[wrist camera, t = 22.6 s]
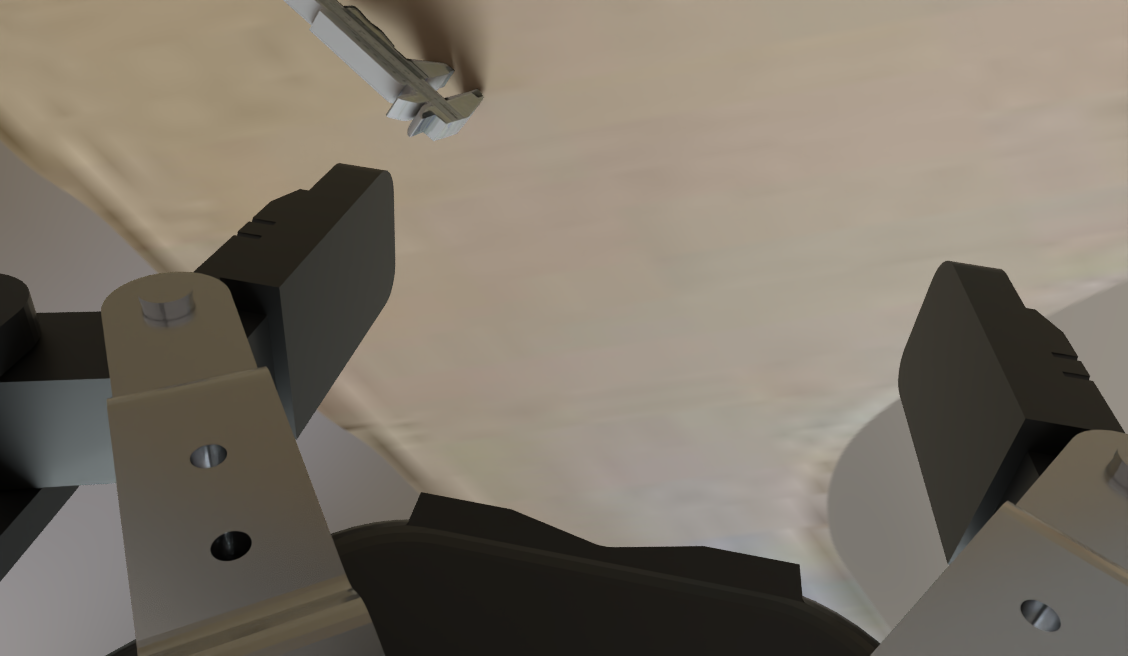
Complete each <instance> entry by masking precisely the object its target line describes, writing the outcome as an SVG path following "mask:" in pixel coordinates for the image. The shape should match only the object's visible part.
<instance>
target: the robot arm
mask: <svg viewBox="0 0 1128 656" xmlns="http://www.w3.org/2000/svg"><path fill="white" fill-rule="evenodd" d="M394 274H395V231H394V189H393V181H392V177H391V174H390V173H389V172H388V171H386V170H379V169H373V168H367V167H360V166H354V165H348V164H341V163H338V164H336V165H335V166H334V167H333V168H332V169H331V170H330V171H329V172H328V173H327V174H326V175H324V176H323V177H322V178H321V179H320V180H319V181H318V182H317V183H316V184H315V185H314V186H313V187H312V188H311V189H310V190H309V191H308V190H302V189H299V190H297V191H294V192H292V193H290V194H287V195H285V196H283V197H280V198H278V199H276V200H273V201H271V202H270V203H269V204H267V205H266V206H265V207H264V208H263V209H262V210H261V211H260V212H259V213H258V214H257V215H255V216H254V217H253V220H252V222H250V221H249V222H248V223H247V224H246V225H244V226H243V227H242V228H241V229H240V230H239V231H238V234H237V236H236V235H234V236H232V237H231V238H230V239H229V240H228V241H227V242H226V243H225V244H224V245H223V246H221V247H220V248H219V249H218V250H217V251H216V252H215V253H214V254H213V255H212V256H211V257H209V258H208V259H207V260H206V261H205V262H204V263H203V264H202V265H201V266H200V267H198V268H197V269H196V270H195V271H194V272H167V273H159V274H154V275H149V276H145V277H142V278H138V279H136V280H133V281H130V282H128V283H126V284H124V285H122V286H120V287H119V288H118V289H116V290H114V291H113V292H112V293H111V294H110V295H109V296H108V297H107V298H106V299H105V301H104V302H103V305H102V307H101V312H65V313H64V312H62V313H61V312H60V313H36V311H35V308H34V305H33V302H32V298H31V295H30V292H29V289H28V287H27V286H26V285H25V284H24V283H23V282H22V281H21V280H19V279H17V278H15V277H12V276H9V275H4V274H0V581H1V580H2V579H3V578H4V576H5V575H6V574H7V573H8V572H9V570H10V569H11V568H12V567H13V566H14V564H15V563H16V562H17V561H18V559H19V558H20V557H21V556H22V555H23V553H24V552H25V551H26V550H27V549H28V547H29V546H30V545H31V544H32V543H33V541H34V540H35V539H36V538H37V537H38V535H39V534H40V533H41V532H42V531H43V529H44V528H45V527H46V526H47V524H48V523H49V522H50V521H51V520H52V519H53V517H54V516H55V515H56V514H57V513H58V511H59V510H60V509H61V508H62V506H63V505H64V504H65V503H66V501H67V500H68V499H69V498H70V497H71V496H72V494H73V493H74V492H75V491H76V489H77V488H78V487H79V485H90V484H91V485H92V484H108V483H116V484H117V492H118V500H119V508H120V516H121V524H122V532H123V539H124V548H125V556H126V564H127V571H128V580H129V588H130V596H131V603H132V611H133V620H134V627H135V636H136V639H135V640H133V641H131V642H129V643H128V644H126V645H124V646H122V647H120V648H119V649H117V650H115V651H113V652H111V653H110V654H108V655H106V656H1128V434H1125V432H1124V430H1123V429H1122V427H1121V426H1120V424H1119V422H1118V421H1117V419H1116V418H1115V416H1114V414H1113V413H1112V411H1111V409H1110V408H1109V406H1108V405H1107V403H1106V401H1105V400H1104V398H1103V396H1102V395H1101V393H1100V391H1099V390H1098V388H1097V387H1096V385H1095V384H1094V382H1093V381H1089V377H1090V375H1089V374H1088V372H1087V370H1086V369H1085V367H1084V366H1083V364H1082V362H1081V361H1077V358H1078V356H1077V354H1076V352H1075V351H1074V349H1073V348H1072V346H1071V344H1070V343H1069V341H1068V339H1067V338H1066V336H1065V335H1064V333H1063V332H1062V331H1061V330H1059V329H1058V328H1057V327H1056V326H1055V325H1053V324H1052V323H1051V322H1050V321H1048V320H1047V319H1046V318H1045V317H1044V316H1042V315H1041V314H1040V313H1039V312H1038V311H1036V310H1035V309H1029V308H1025V306H1024V304H1023V302H1022V301H1021V299H1020V297H1019V295H1018V294H1017V292H1016V290H1015V288H1014V287H1013V285H1012V283H1011V281H1010V280H1009V278H1008V276H1007V274H1006V273H1005V272H1004V271H1003V270H1002V269H996V268H990V267H983V266H977V265H971V264H965V263H958V262H952V261H945V262H943V263H942V264H941V265H940V266H939V268H938V269H937V271H936V273H935V275H934V277H933V279H932V282H931V284H930V287H929V289H928V292H927V294H926V297H925V299H924V302H923V304H922V307H921V309H920V312H919V314H918V317H917V319H916V322H915V324H914V327H913V329H912V332H911V334H910V337H909V339H908V342H907V344H906V347H905V349H904V352H903V355H902V359H901V363H900V368H899V378H898V387H899V394H900V398H901V401H902V405H903V408H904V412H905V415H906V419H907V422H908V425H909V429H910V433H911V436H912V440H913V443H914V447H915V450H916V454H917V457H918V461H919V464H920V468H921V472H922V475H923V479H924V482H925V486H926V489H927V493H928V496H929V500H930V503H931V507H932V510H933V514H934V517H935V521H936V524H937V528H938V531H939V535H940V538H941V542H942V546H943V549H944V552H945V556H946V560H947V563H948V564H949V566H948V567H947V569H946V570H945V571H944V572H943V573H942V574H941V575H940V576H939V578H938V579H937V580H936V581H935V582H934V583H933V584H932V586H931V587H930V588H929V589H928V590H927V591H926V592H925V594H924V595H923V596H922V597H921V598H920V599H919V601H918V602H917V603H916V604H915V605H914V606H913V607H912V609H911V610H910V611H909V612H908V613H907V614H906V615H905V616H904V618H903V619H902V620H901V621H900V622H899V623H898V624H897V626H896V627H895V628H894V629H893V630H892V631H891V632H890V634H889V635H888V636H887V637H886V638H885V639H884V640H883V641H882V643H881V644H880V643H879V642H878V641H877V640H875V639H874V638H873V637H871V636H870V635H869V634H867V633H866V632H865V631H864V630H862V629H861V628H860V627H858V626H857V625H855V624H854V623H852V622H851V621H849V620H848V619H846V618H844V617H843V616H841V615H840V614H838V613H837V612H835V611H833V610H831V609H829V608H827V607H825V606H823V605H821V604H819V603H817V602H816V601H813V600H811V599H809V598H806V597H804V596H802V587H801V576H800V565H799V564H794V563H789V562H784V561H779V560H773V559H768V558H763V557H758V556H752V555H747V554H742V553H737V552H731V551H726V550H721V549H716V548H711V547H705V546H682V547H605V546H600V545H597V544H594V543H591V542H589V541H587V540H584V539H582V538H579V537H577V536H574V535H572V534H570V533H567V532H565V531H562V530H560V529H557V528H555V527H553V526H550V525H548V524H545V523H543V522H541V521H538V520H536V519H533V518H531V517H528V516H526V515H524V514H521V513H519V512H516V511H514V510H512V509H506V508H501V507H496V506H491V505H485V504H480V503H475V502H470V501H465V500H459V499H454V498H449V497H444V496H438V495H433V494H428V493H423V492H421V494H420V496H419V498H418V501H417V503H416V505H415V508H414V510H413V512H412V515H411V517H410V519H409V520H392V521H382V522H374V523H369V524H365V525H360V526H356V527H351V528H348V529H345V530H342V531H339V532H335V533H332V534H330V531H329V528H328V526H327V523H326V520H325V518H324V515H323V512H322V510H321V507H320V504H319V502H318V499H317V496H316V494H315V491H314V488H313V486H312V483H311V480H310V478H309V475H308V472H307V470H306V467H305V464H304V462H303V459H302V456H301V454H300V451H299V448H298V446H297V443H296V440H295V439H297V438H298V437H299V435H300V433H301V432H302V431H303V429H304V428H305V426H306V424H307V423H308V421H309V420H310V419H311V417H312V415H313V414H314V412H315V411H316V409H317V408H318V406H319V405H320V403H321V402H322V400H323V399H324V397H325V396H326V394H327V393H328V391H329V390H330V388H331V387H332V385H333V384H334V382H335V380H336V379H337V377H338V376H339V374H340V373H341V371H342V370H343V368H344V367H345V365H346V364H347V362H348V361H349V359H350V358H351V356H352V355H353V353H354V352H355V350H356V349H357V347H358V345H359V344H360V342H361V341H362V339H363V338H364V336H365V335H366V333H367V332H368V330H369V329H370V327H371V326H372V324H373V323H374V321H375V320H376V318H377V317H378V315H379V314H380V312H381V310H382V309H383V307H384V306H385V304H386V303H387V301H388V298H389V296H390V293H391V289H392V286H393V281H394Z"/></svg>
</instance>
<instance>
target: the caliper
mask: <svg viewBox="0 0 1128 656" xmlns="http://www.w3.org/2000/svg"><path fill="white" fill-rule="evenodd" d="M284 1H285V2H286V3H287V4H288V5H289V6H290V7H291V8H293V9H294V10H295V11H296V12H297V13H298V14H299V15H300V16H301V17H303V18H304V19H305V20H306V21H307V22H308V23H309V24H310V25H311V28H310V29H309V30H310V31H311V32H312V33H313V34H314V35H315V36H317V37H318V38H319V39H320V40H321V41H322V42H323V43H324V44H325V45H326V46H328V47H329V48H330V49H331V50H332V51H333V52H334V53H335V54H336V55H337V56H338V57H340V58H341V59H342V60H343V61H344V62H345V63H346V64H347V65H348V66H349V67H351V68H352V69H353V70H354V71H355V72H356V73H357V74H358V75H359V76H360V77H361V78H363V79H364V80H365V81H366V82H367V83H368V84H369V85H370V86H371V87H372V88H374V89H375V90H376V91H377V92H378V93H379V94H380V95H381V96H382V97H383V98H385V99H386V100H387V101H388V102H390V103H393V105H392V106H391V108H390V109H389V111H388V112H387V114H386V116H387V117H389V118H393V119H398V120H403V121H408V120H412V119H413V121H412V122H411V124H410V126H409V128H408V136H409V137H412V136H414V135H417V134H419V133H422V132H424V133H425V134H426V135H427V136H428V137H430V138H431V139H432V140H433V141H436V140H439V139H442V138H445V137H448V136H451V135H454V134H457V133H458V132H459V130H460V129H461V128H462V127H463V125H464V124H465V123H466V122H467V120H468V119H469V118H470V116H471V115H472V114H473V112H474V111H475V110H476V108H477V107H478V105H479V104H480V102H481V101H482V99H483V98H484V97H483V95H482V93H481V92H480V91H479V90H478V89H475V90H472V91H470V92H466V93H462V94H458V95H455V96H451V97H447V98H443V97H442V96H441V95H440V94H439V93H438V92H437V91H436V90H438V89H439V88H441V87H444V86H445V84H446V83H447V81H448V80H449V78H450V77H451V75H452V74H453V72H454V70H453V69H452V68H451V67H449V66H448V65H447V64H445V63H439V62H430V61H422V60H414V59H406V58H405V57H404V56H403V55H402V54H401V53H399V52H398V51H397V50H396V49H395V48H394V45H393V44H392V42H391V41H390V40H389V39H388V38H387V36H386V35H385V34H384V33H383V32H382V30H380V29H379V28H378V27H377V26H375V25H374V24H372V23H371V22H370V21H369V20H368V19H367V18H366V17H365V16H364V15H363V13H362V12H361V11H360V10H359V9H358V8H356V7H355V6H343V5H341V4H340V3H339V2H338V1H337V0H284Z"/></svg>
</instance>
